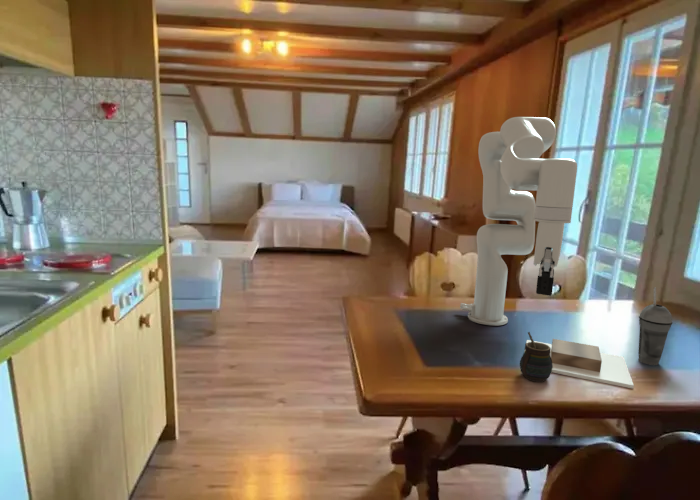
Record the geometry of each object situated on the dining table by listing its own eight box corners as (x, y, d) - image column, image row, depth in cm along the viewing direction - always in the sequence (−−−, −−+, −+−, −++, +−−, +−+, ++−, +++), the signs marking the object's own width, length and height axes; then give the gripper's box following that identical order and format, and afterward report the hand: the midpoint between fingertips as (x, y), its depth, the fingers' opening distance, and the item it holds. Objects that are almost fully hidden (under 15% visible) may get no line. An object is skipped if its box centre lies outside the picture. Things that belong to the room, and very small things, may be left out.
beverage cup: (666, 370, 113) (679, 293, 109) (632, 362, 116) (644, 288, 113) (664, 360, 119) (676, 287, 115) (632, 353, 122) (643, 283, 119)
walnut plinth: (550, 362, 113) (552, 351, 112) (551, 349, 122) (552, 338, 121) (600, 372, 108) (601, 360, 108) (596, 357, 117) (598, 346, 117)
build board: (521, 366, 112) (522, 363, 112) (526, 342, 128) (526, 339, 128) (633, 388, 102) (633, 385, 102) (623, 359, 118) (623, 356, 118)
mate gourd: (534, 386, 101) (539, 345, 100) (510, 373, 108) (514, 333, 106) (558, 381, 104) (562, 341, 102) (533, 368, 111) (537, 330, 109)
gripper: (536, 211, 108) (529, 280, 111) (532, 216, 93) (524, 296, 96) (570, 213, 105) (562, 284, 108) (572, 219, 90) (562, 301, 93)
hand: (544, 289), depth 102 cm, fingers open, 9 cm apart
